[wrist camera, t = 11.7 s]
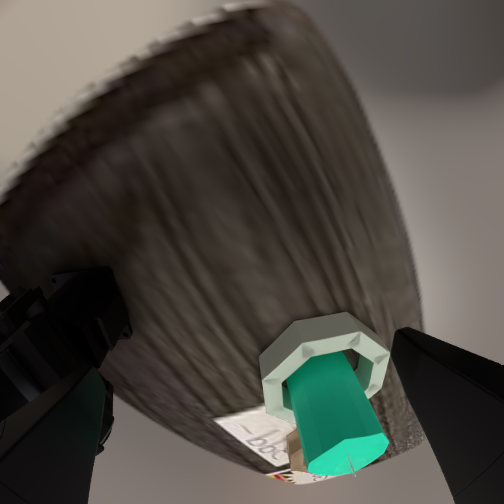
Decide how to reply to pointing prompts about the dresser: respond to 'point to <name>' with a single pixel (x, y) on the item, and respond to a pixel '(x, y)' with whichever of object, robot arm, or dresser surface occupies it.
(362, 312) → the dresser surface
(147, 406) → the dresser surface
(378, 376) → the socket
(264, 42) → the dresser surface
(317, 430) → the candle
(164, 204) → the dresser surface
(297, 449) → the socket
